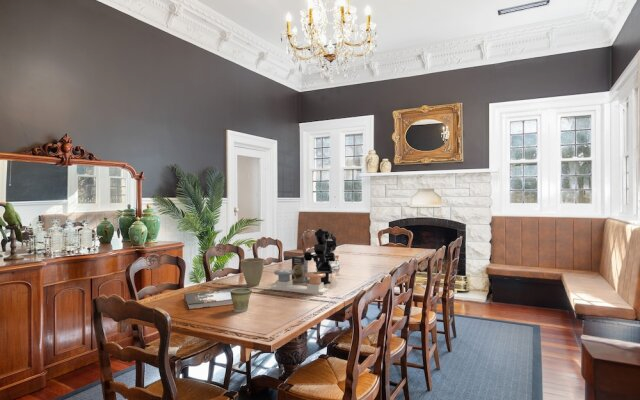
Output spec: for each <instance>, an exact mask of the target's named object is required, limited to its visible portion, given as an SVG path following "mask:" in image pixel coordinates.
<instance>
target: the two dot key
mask: <svg viewBox="0 0 640 400" xmlns="http://www.w3.org/2000/svg"><path fill="white" fill-rule="evenodd" d="M273 274H274V275H275V276H278V280H279V281H283V282H287V281H289V280H291V276H292V274H294V271H293V270H292V269H287V268H285V269H276V270H274V271H273Z"/></svg>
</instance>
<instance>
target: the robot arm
mask: <svg viewBox="0 0 640 400" xmlns="http://www.w3.org/2000/svg"><path fill="white" fill-rule="evenodd" d="M314 236H315V241H316V242H317V244H314V245H313V246H314V247H313V250H314V253H313V254H312V252H311V251H305V252H304V253H303V256H304V258H305V260H306V261H308V262H309V261H312V260H313V262H314V263H315V265H316V272H323V273H325V274H326V276H325V277H322V278H321V282H324V284H331V281H330V274H333V271H332V265H331V263H330V262H335V261H336V255H335V252H334V251H336V248H337V247H338V240H337V238H336V236H335V235H334V233H333V232H330V231H329V230H323V229H322V228H319V229H318V230H316V231H315V232H314Z"/></svg>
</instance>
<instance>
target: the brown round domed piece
mask: <svg viewBox="0 0 640 400" xmlns="http://www.w3.org/2000/svg"><path fill="white" fill-rule="evenodd" d="M325 276H326V274H325V273H323V272H317V271H310V272H309V271H308V273H305V277H308V278H309V283H310V284H316V285H318V284H320V283H321V278H322V277H325Z"/></svg>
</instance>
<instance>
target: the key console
mask: <svg viewBox="0 0 640 400" xmlns="http://www.w3.org/2000/svg"><path fill="white" fill-rule="evenodd" d="M324 285H325V283H324V282H321V283H320V284H318V285H316V284H310V282H309V283H307V284H306V285H295V284H293V281H292V279H290V280H289V281H287V282H283V281H279V279H278V280H275V284H274V285H272V286H270V290H275V291H282V292H283V291H284V292H285V291H286V292H292V293H293V292H295V293H301V294H302V293H305V294H313V295H314V294H316V295H325V294H327V293H328V292H330V288H326V287H325V286H324Z"/></svg>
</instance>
